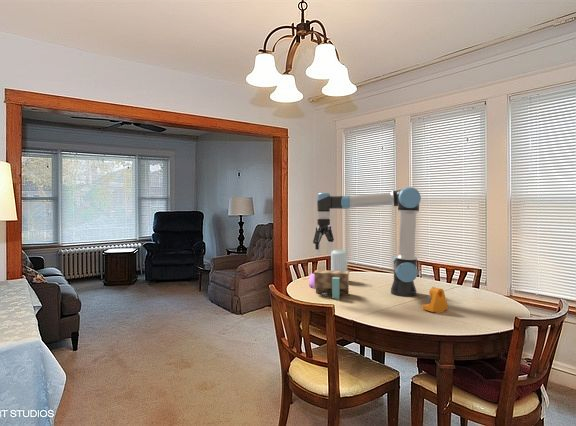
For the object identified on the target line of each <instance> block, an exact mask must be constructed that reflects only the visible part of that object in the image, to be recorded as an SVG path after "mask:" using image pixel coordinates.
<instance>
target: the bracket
mask: <svg viewBox="0 0 576 426" xmlns="http://www.w3.org/2000/svg"><path fill="white" fill-rule="evenodd" d="M429 296H430V297H431V299H430V303H425V304H422V310H426V311H429V312H431V313H436V314H438V313H442V312H445V310H448V303H447V297H446V295H445V290H444V289H443V288H439V287H435V286H432V287H431V288H430V289H429Z"/></svg>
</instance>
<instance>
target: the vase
mask: <svg viewBox="0 0 576 426" xmlns="http://www.w3.org/2000/svg"><path fill="white" fill-rule="evenodd" d="M330 271H348V252H347V251H346V250H344V249H333V250H332V252H331V253H330Z"/></svg>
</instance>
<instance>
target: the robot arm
mask: <svg viewBox="0 0 576 426" xmlns="http://www.w3.org/2000/svg"><path fill="white" fill-rule="evenodd" d="M421 199H422V198H421V193H420V192H419V190H418V189H417V188H415V187H411V186H407V187H403V188H401V189H398V190H392V191H391V192H381V193H370V194H357V195H356V194H355V195H336V196H335V195H331V194H330V192H319V193H318V194H317V200H316V201H317V204H316V205H317V208H316V209H317V211H316V212H317V226H316V227H315V233H314V237H313V240H312V243H313V244H314V245H315V247H314V248H315V255H316V256H321V243H320V242H321V239H322V238H323V236H324V235H325V237H326V240H327V243H326V245H327V246H326V249H327V250H326V251H327V253H330V254H331V252H332V251H333V249H332V247H333V242H334V240H335V238H334V234H333V231H332V226H331V225H330V224H331V219H330V218H331V209H336V210H341V209H343V210H346V209H347V210H348V209H350V208H365V207H379V206H380V207H381V206H382V207H383V206H392V207H397V211H398V212H399V214H400V217H399V241H398V242H399V246H398V255H395V256H394V257H393V282H392V285H391V286H390V293H391V294H392V295H395V296H400V297H412V296H413V297H414V296H416V295H417V288H416V285H415V282H414V281H415V280H416V278H417V277H418V275H419V271H418V270H419V269H418V258H417V257H416V256H415V249H416V223H417V214H418V213H419V212H420V203H421Z"/></svg>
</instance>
